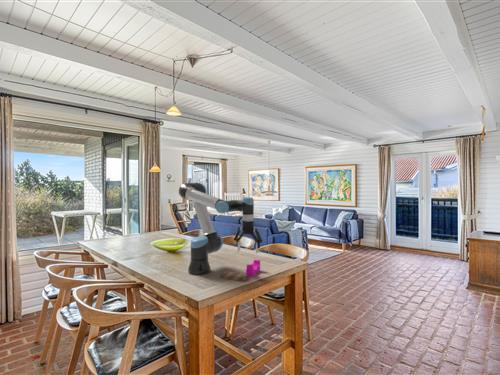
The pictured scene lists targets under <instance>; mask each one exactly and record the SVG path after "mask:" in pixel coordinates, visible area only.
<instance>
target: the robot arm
mask: <svg viewBox="0 0 500 375" xmlns="http://www.w3.org/2000/svg"><path fill="white" fill-rule="evenodd" d="M178 194H179V196H180V197H181V198H182V199H184V200H187V201H189V202H190V203H191V204H193V207H194V210H195V213H196V216H197V220H198V223H199V226H200V230H201V233H202V235H200V236H199V235H198V236H196V237H195V236H194V237H192V239H191V240H190V245H189V246H190V261H189V265H188V268H187V270H188V274H190V275H196V276H199V275H206V274H209V273H210V272H211V265H210V263H209V254H212V253H216V252H218V251H220V250H221V249H222V247H223V244H224V240H223V237H222V236H220V235H219V234H218V232H217V231H216V230H215V228H214V226H213V223H212V220H211V217H210V214H209V209H208V208H207V207H209V208H211V209H215V211H216V212H217V213H219V214H225V213H226V214H227V213H230V212H231V213H232V212H242V227H241V226H239V227H237V228H238V229H237V232H236V233H235V236H234V239H233V241H235V242H236V247H237V252H240V251H241V239H242V238H243V237H244V236H245V235H250V236H252V238H253V239H254V240H255V242H256V243H255V245H256V246H255V254H259V253H260V252H259V250H260V248H261V244H262V243H263V242H264V241H263V239H262V238H263V237H262V236H261V234H260V231H259V228H258V227H256V228H255V224H254V223H255V222H254V216H255V215H254V214H255V213H254V209H255V208H254V206H255V204H254V203H255V200H254V198H253V197H243V198H242V199H241V200H239V199H230V200H224V199H221V198H219V197H216V196H213V195H211V194H208V193H207V187H206V186H205V185H204V184H203V183H201V182H184V183H182V184H181V185H180V186H179V188H178Z"/></svg>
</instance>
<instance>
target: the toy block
mask: <svg viewBox="0 0 500 375" xmlns="http://www.w3.org/2000/svg"><path fill="white" fill-rule="evenodd" d="M260 271H261V259H254V260H253V263H249V264H246V268H245V274H249V278H253V277H255V275H256V274H258V273H259V272H260Z"/></svg>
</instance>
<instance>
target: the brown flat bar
mask: <svg viewBox="0 0 500 375" xmlns="http://www.w3.org/2000/svg"><path fill="white" fill-rule="evenodd" d="M219 278H220V279H225V280H230V281H231V280H232V281H237V282H246V281H247V280H249V279H250V277H249V274H246V273H241V272H235V271H234V272H233V271H228V270H224V271H223V272H222V273H220V274H219Z"/></svg>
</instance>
